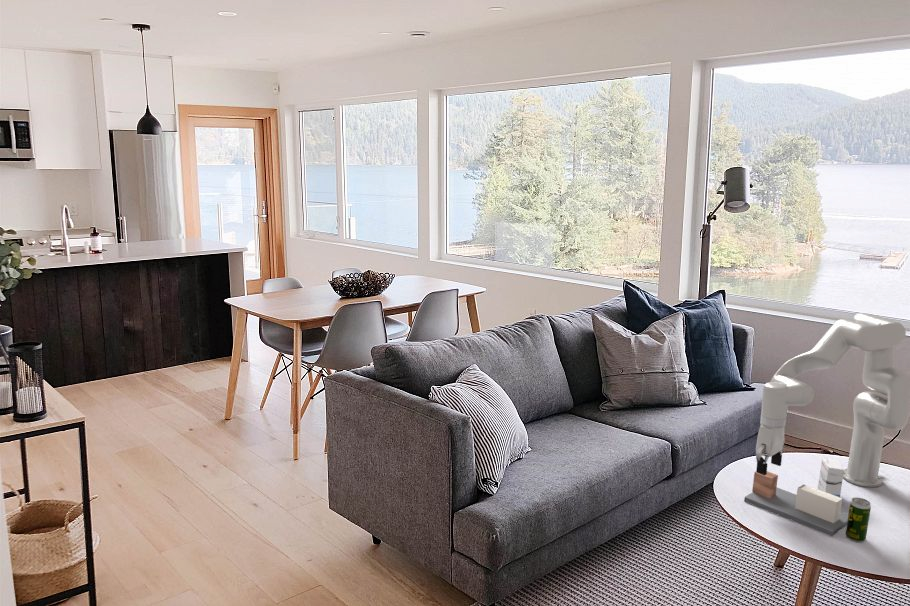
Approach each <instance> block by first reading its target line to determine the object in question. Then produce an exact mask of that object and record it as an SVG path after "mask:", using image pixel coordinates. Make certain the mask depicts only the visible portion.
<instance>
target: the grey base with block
mask: <svg viewBox="0 0 910 606" xmlns="http://www.w3.org/2000/svg"><path fill="white" fill-rule="evenodd" d="M743 501H744V503H745V502H746V503H748V504H750V505H752V504H753V506H756V507H758V508H760V507H761V509H762V508H763V509H762V510H764V511H767V510H768V512H770V513H772V512H773V514H775V515H777V514H778V516H780V517H782V518H785V519H787V520H790V521H792V522H795V523H798V524H800V525H803V526H806V527H808V528H810V529H813V530H814V531H817V532H820V533H822V534H825V535H828V536H830V537H833V536H835V535H836V534H837V533H839V532H840V531H842V530H843V529H844V528H845V527H847V521H848V514H849V513H848V512H847V513H846V512H844V511H842V504H843V497H841V496H840V497H837V496H834V495H832V494H829V493H826V492H823V491H821V490H818V488H815V487H812V486H809V485H806V484H802V485H800V486H798V487H797V490H796V493H793V492H790V491H788V490H785V489H782V488H779V487H777V488H776V495H774V496H773V497H771V498H767V497H765V496H762V495H760V494H757V493H754V492H750V493H749V494H747V495H746V496H744V500H743Z"/></svg>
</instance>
